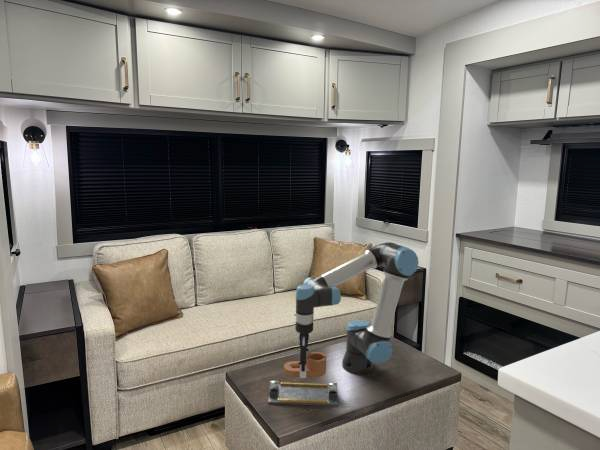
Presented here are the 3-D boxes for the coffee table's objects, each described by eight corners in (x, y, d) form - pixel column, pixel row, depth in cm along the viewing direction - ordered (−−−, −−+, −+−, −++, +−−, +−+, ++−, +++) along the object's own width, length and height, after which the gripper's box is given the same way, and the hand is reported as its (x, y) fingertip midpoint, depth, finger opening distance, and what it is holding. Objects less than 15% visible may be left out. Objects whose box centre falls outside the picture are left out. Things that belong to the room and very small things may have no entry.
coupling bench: (336, 388, 183) (336, 375, 182) (337, 406, 170) (337, 392, 169) (271, 386, 184) (271, 373, 183) (268, 403, 171) (268, 389, 170)
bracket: (324, 366, 180) (324, 351, 179) (327, 376, 172) (327, 361, 171) (283, 367, 178) (283, 352, 177) (284, 377, 170) (284, 362, 169)
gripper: (296, 311, 182) (296, 358, 186) (293, 332, 161) (293, 384, 165) (313, 312, 182) (312, 359, 185) (313, 333, 160) (311, 385, 164)
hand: (303, 371), depth 175 cm, fingers closed on bracket, 9 cm apart
